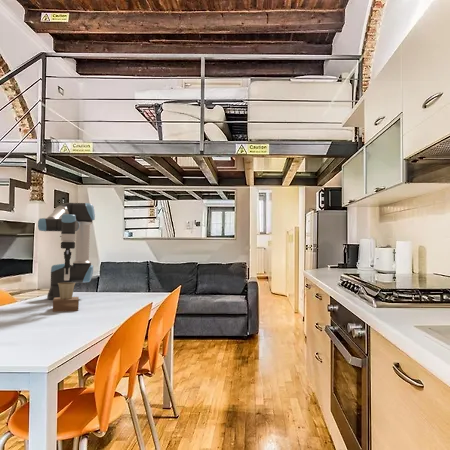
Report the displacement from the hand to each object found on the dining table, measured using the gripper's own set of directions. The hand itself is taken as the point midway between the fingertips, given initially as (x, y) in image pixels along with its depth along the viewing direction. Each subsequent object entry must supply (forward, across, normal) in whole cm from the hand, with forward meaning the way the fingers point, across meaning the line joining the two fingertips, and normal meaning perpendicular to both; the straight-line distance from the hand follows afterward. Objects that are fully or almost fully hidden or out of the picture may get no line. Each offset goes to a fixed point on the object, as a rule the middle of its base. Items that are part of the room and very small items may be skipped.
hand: (66, 279), depth 224 cm
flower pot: (+11, 0, 0) cm, 11 cm away
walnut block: (+17, 0, 0) cm, 17 cm away
